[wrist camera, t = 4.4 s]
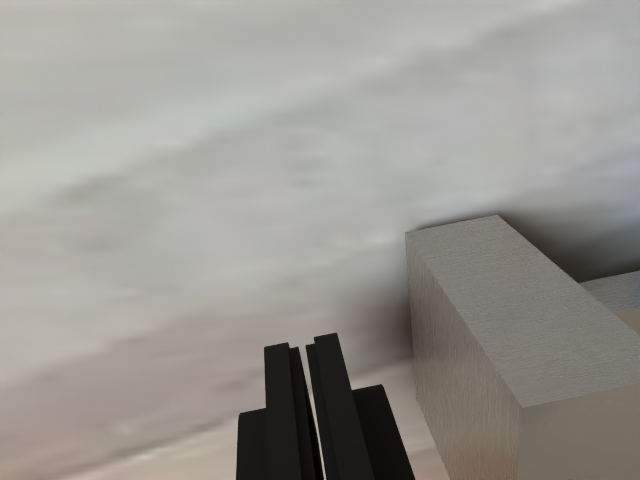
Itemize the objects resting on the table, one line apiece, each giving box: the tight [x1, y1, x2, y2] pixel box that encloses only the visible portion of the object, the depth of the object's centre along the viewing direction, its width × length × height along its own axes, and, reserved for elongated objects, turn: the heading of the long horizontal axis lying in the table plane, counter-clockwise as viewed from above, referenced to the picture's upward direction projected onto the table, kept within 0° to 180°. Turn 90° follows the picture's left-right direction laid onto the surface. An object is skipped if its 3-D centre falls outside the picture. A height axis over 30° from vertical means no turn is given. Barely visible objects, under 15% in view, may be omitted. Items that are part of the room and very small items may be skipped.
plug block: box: [405, 215, 640, 480], centre depth 11 cm, size 9×6×6 cm
